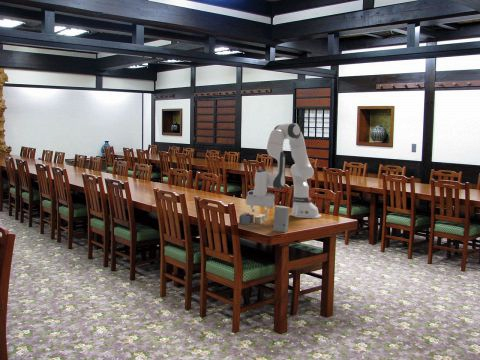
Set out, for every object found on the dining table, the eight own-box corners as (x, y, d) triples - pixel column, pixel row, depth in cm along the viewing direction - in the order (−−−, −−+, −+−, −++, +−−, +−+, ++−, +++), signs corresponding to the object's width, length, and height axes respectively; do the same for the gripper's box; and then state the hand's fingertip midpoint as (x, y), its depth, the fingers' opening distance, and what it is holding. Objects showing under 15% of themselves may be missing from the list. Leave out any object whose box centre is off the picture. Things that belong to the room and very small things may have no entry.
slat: (260, 220, 360) (260, 213, 359) (266, 220, 358) (266, 214, 358) (254, 223, 347) (254, 217, 346) (259, 224, 345) (260, 217, 345)
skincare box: (272, 231, 322) (273, 206, 320) (276, 229, 328) (277, 205, 327) (285, 232, 319) (286, 207, 317) (289, 230, 325) (289, 206, 323)
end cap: (253, 222, 349) (253, 213, 349) (249, 224, 341) (249, 215, 340) (243, 221, 352) (244, 212, 351) (239, 223, 343) (239, 214, 343)
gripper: (276, 193, 349) (275, 213, 351) (248, 191, 357) (247, 210, 358) (273, 194, 344) (272, 214, 345) (245, 191, 351) (244, 211, 352)
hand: (259, 212), depth 352 cm, fingers open, 8 cm apart
